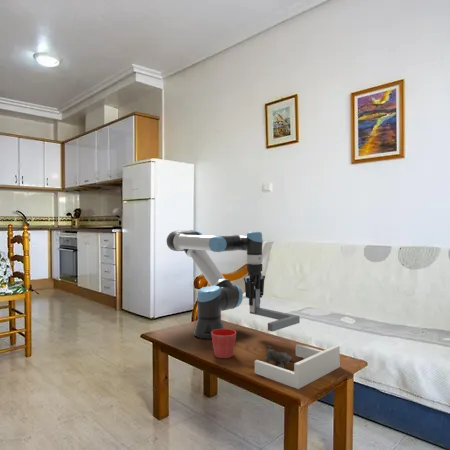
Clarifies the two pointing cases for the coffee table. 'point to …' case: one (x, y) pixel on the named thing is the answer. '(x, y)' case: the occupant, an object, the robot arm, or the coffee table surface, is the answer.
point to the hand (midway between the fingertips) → (254, 311)
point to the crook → (274, 315)
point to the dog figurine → (278, 357)
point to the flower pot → (223, 342)
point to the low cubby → (302, 366)
